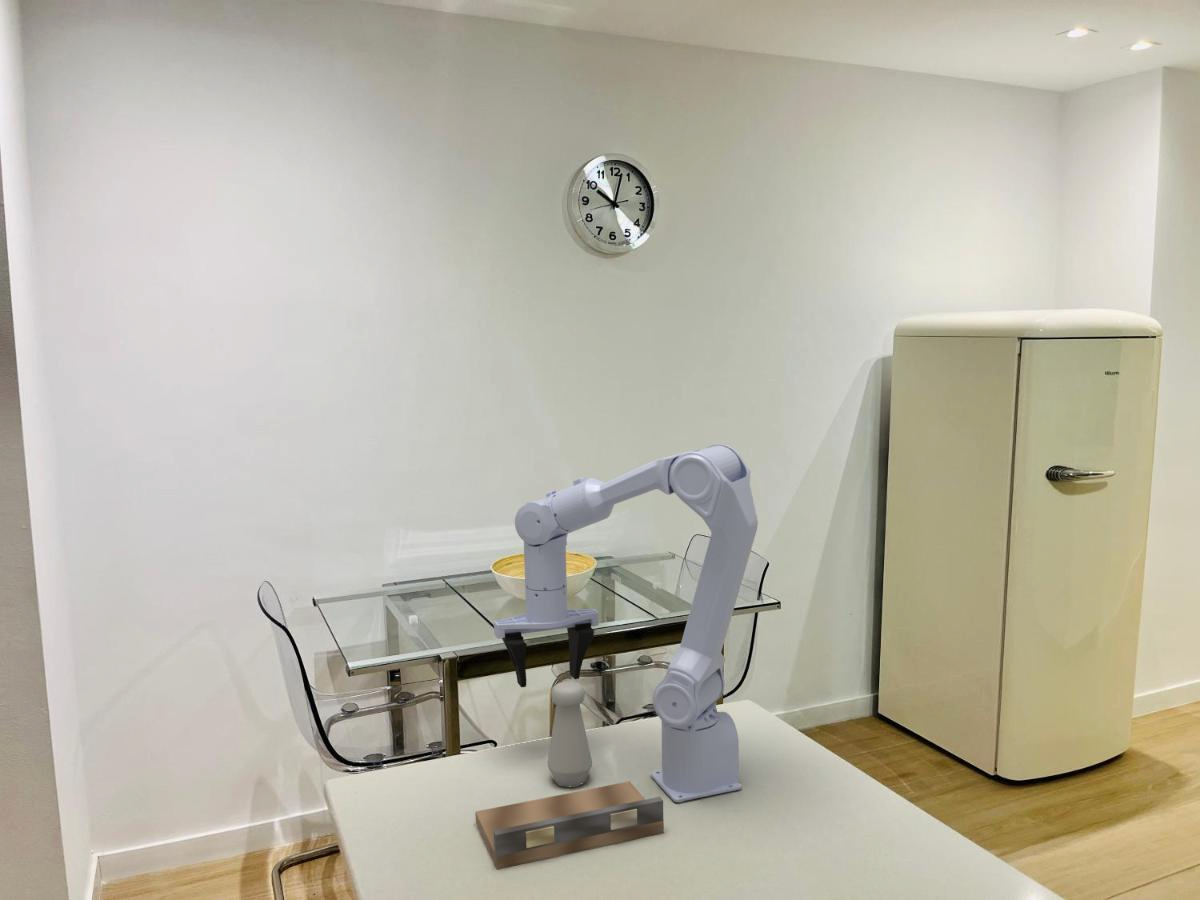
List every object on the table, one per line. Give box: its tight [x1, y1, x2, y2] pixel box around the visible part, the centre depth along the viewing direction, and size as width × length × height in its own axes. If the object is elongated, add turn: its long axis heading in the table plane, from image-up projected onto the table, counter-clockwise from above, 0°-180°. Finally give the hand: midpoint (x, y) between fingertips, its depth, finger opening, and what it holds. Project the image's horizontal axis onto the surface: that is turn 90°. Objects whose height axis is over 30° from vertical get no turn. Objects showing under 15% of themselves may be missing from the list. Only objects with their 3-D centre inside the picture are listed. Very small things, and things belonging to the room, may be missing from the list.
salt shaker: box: [547, 680, 593, 788], centre depth 122 cm, size 6×6×13 cm
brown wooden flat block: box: [474, 780, 665, 870], centre depth 110 cm, size 20×11×4 cm, turn 110°
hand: (548, 680), depth 129 cm, fingers open, 7 cm apart
